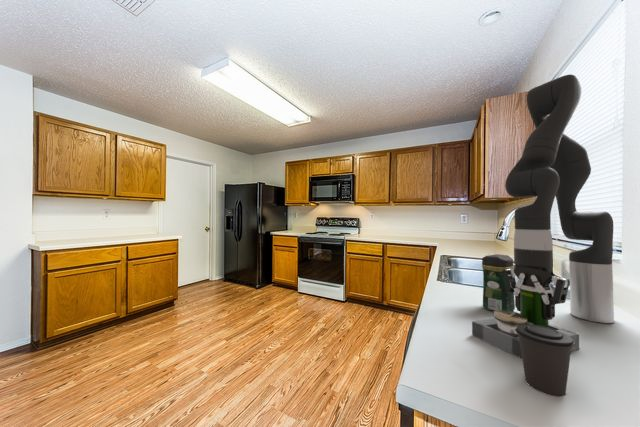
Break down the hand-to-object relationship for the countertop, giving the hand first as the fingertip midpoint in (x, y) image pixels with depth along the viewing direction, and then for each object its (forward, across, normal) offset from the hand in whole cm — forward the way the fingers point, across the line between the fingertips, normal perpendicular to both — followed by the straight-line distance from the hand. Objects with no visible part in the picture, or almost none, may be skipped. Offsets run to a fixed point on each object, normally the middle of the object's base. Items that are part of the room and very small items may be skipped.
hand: (533, 314), depth 63 cm
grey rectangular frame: (+6, 0, +4) cm, 8 cm away
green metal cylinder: (+5, 0, 0) cm, 5 cm away
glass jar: (+6, 0, +8) cm, 10 cm away
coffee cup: (+6, -13, +19) cm, 24 cm away
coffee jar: (+6, +19, -13) cm, 24 cm away
